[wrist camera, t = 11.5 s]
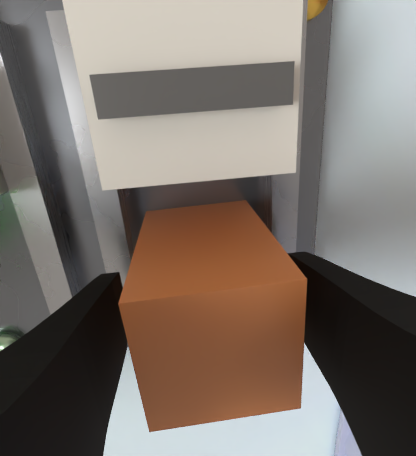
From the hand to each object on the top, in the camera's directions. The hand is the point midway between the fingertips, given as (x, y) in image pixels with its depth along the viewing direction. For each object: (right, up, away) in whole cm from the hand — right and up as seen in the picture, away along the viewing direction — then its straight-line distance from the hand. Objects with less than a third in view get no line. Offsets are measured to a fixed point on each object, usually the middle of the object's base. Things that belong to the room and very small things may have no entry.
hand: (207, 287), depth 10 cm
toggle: (-1, +7, 0) cm, 7 cm away
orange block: (0, +1, +2) cm, 3 cm away
